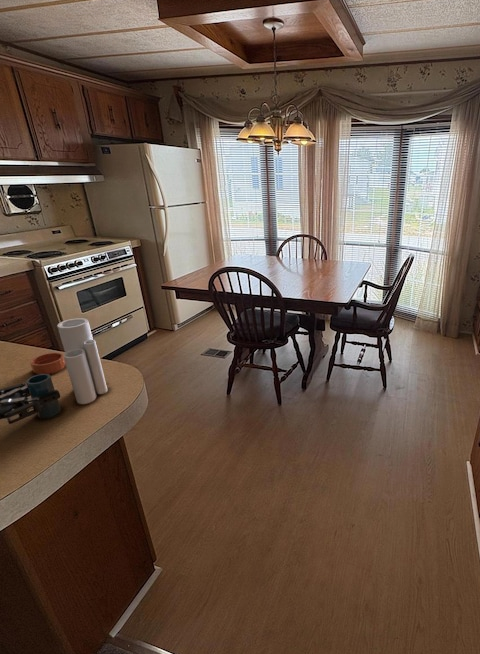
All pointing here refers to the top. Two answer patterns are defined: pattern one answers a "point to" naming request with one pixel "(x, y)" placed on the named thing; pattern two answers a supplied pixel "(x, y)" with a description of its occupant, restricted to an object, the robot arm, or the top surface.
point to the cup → (42, 386)
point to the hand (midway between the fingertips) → (54, 388)
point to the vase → (82, 360)
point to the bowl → (48, 363)
